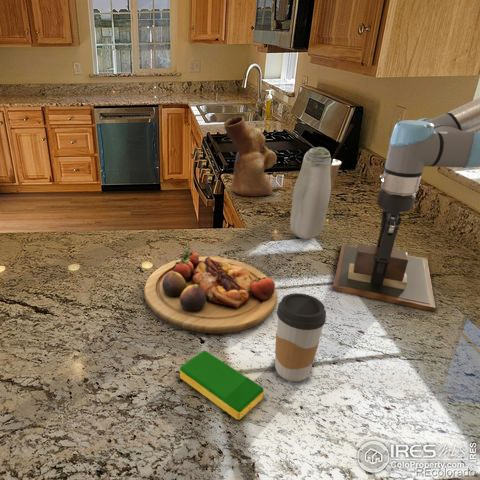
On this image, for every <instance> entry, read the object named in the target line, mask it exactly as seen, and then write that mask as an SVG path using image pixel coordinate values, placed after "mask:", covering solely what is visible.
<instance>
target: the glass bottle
mask: <svg viewBox="0 0 480 480" xmlns="http://www.w3.org/2000/svg"><path fill="white" fill-rule="evenodd" d="M302 159H303V160H302V164H301V167H300V171H299V173H298V176H297V178H296V181H295V184H294V187H293V192H292V201H291V210H290V217H289V223H290V225H289V226H290V229H291V232H292V233H293V234H294V236H296V237H297V238H300V239H302V240H303V239H304V240H311V239H313V238H316V237H318V236H319V235H320V234H321V232H323V231H322V230H323V229H324V226H325V224H326V218H327V213H328V207H329V203H330V201H329V198H330V199H331V197H330V192H331V180H330V164H331V159H332V157H331V153H330V151H329V150H328V149H327V148H325V147H323V146H317V147H312V148H310V149H308V150H307V151H306V153H305V154H304V156H303V158H302Z"/></svg>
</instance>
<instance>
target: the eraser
mask: <svg viewBox="0 0 480 480" xmlns="http://www.w3.org/2000/svg"><path fill="white" fill-rule="evenodd" d="M357 247H358V248H357V253H356V257H355V262H354V264H351V263H350V265H349V271H348V279H352V280H357V281H363V282H368V283H370V281H371V277H372V273H373V269H374V264H375V261H374V260H373V258H377V256H378V251H379V247H378V246H377V245H371V244H364V243H358V244H357ZM407 263H408V251H407V250H402V249H396V248H393V249H392V253H391V257H390V263H389V264H388V265H387V269H386V273H385V277H384V281H383V285H384V286H389V287H394V288H399V289H404V290H405V288H406V285H407V279H406V273H405V271H406V267H407Z"/></svg>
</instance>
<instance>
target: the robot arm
mask: <svg viewBox="0 0 480 480" xmlns="http://www.w3.org/2000/svg"><path fill="white" fill-rule="evenodd" d="M393 127H394V128H393V131H392V133H391V137H390V140H389V143H388V144H389V146H388V151H387V156H386V161H385V165H384V169H383V170H384V171H383V174H380V175H379V179H381V182H380V183H381V184H380V188H381V189H379V191H378V195H377V200H376V205H377V206H378V207H379V208H381V209H383V211H382V214H381V221H380V229H379V234H378V238H377V240H376V242H377V243H376V246H378V247H379V251H378V256H377V258H373V260H374V261H375V264H374V269H373V273H372V277H371V281H370V283H373V284H378V285H383V281H384V277H385V273H386V269H387V265H388V264H389V263H390V257H391V253H392V249H394V244H395V240H396V237H397V235H398V232H399V229H400V228H399V226H400V225H401V223H402V219H403V218H402V212H409V211H411V210H412V209H413V208H414V204H415V202H416V201H415V200H416V198H417V195H416V193H417V192H418V191H419V188H420V183H421V179H422V175H423V171H424V168H425V167H434V168H435V167H436V168H437V167H438V168H462V169H467V168H479V167H480V97H478V98H476V99H474V100H472V101H469V102H467V103H465V104H463V105H460V106H459V107H457V108H454V109H452V110H450V111H447V112H445V113H443V114H441V115H439V116H436V117H434V118H432V117H423V118H419V119H417V120H415V119H408V120H407V119H406V120H400V121H398V122H396V124H395V125H394V126H393Z"/></svg>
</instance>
